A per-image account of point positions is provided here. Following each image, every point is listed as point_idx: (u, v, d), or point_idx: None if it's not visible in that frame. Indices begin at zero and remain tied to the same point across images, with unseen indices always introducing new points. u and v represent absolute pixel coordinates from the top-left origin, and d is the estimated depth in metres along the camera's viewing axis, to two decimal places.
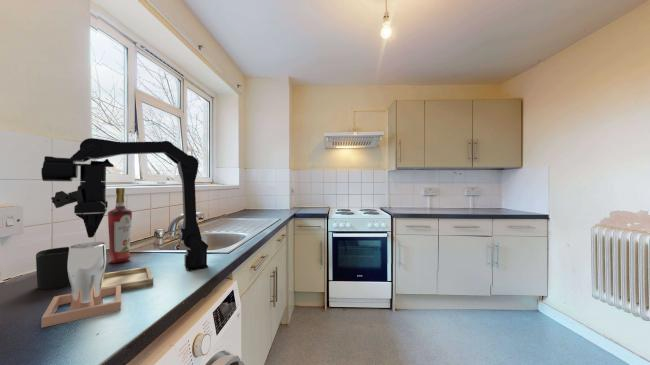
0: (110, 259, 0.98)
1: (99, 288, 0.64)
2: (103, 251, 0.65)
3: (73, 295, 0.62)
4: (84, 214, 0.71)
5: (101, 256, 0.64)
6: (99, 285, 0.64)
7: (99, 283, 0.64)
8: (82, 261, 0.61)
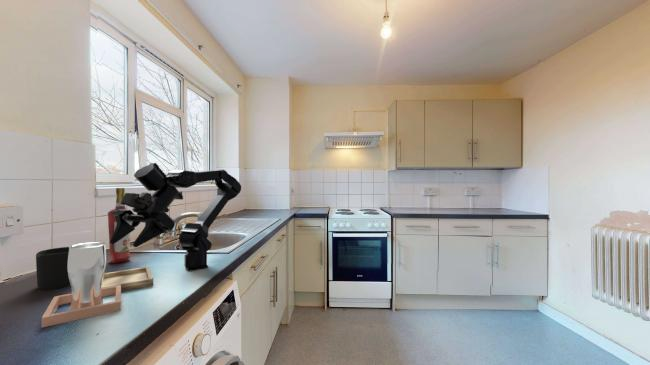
0: (110, 259, 0.98)
1: (99, 288, 0.64)
2: (103, 251, 0.65)
3: (73, 295, 0.62)
4: (157, 223, 0.73)
5: (101, 256, 0.64)
6: (99, 285, 0.64)
7: (99, 283, 0.64)
8: (82, 261, 0.61)
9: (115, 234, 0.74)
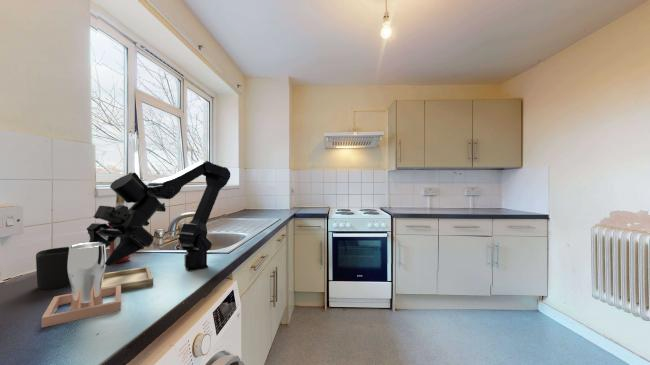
0: None
1: (99, 288, 0.64)
2: (103, 251, 0.65)
3: (73, 295, 0.62)
4: (133, 239, 0.66)
5: (101, 256, 0.64)
6: (99, 285, 0.64)
7: (99, 283, 0.64)
8: (82, 261, 0.61)
9: None
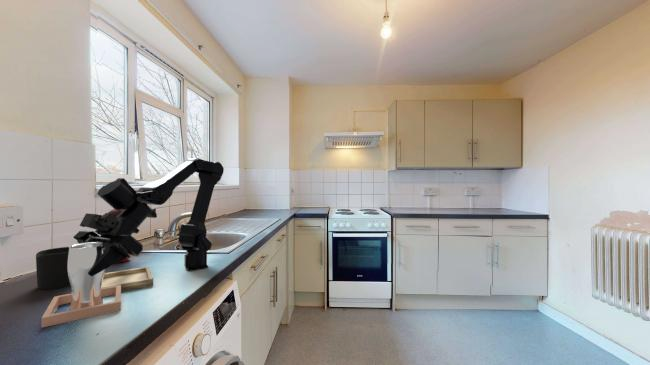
0: None
1: (99, 288, 0.64)
2: (103, 251, 0.65)
3: (73, 295, 0.62)
4: (118, 248, 0.64)
5: None
6: (99, 285, 0.64)
7: (99, 283, 0.64)
8: (82, 261, 0.61)
9: None
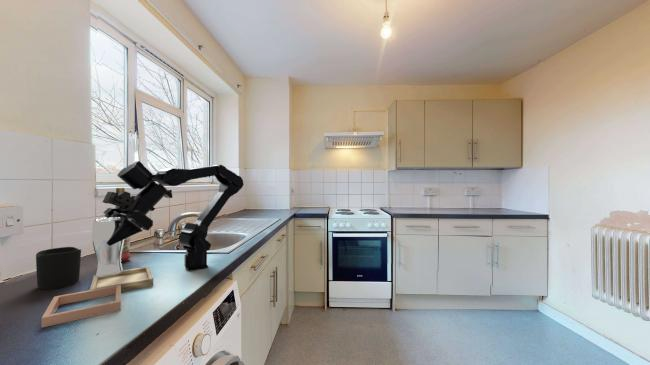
0: None
1: (118, 257, 0.73)
2: None
3: (97, 261, 0.71)
4: (130, 222, 0.72)
5: None
6: (118, 254, 0.73)
7: (117, 253, 0.73)
8: (102, 232, 0.70)
9: None
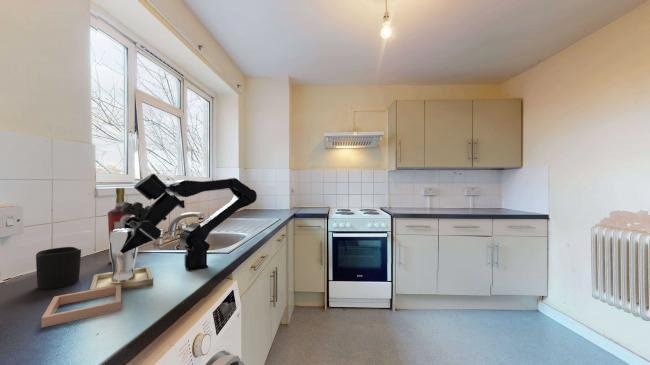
0: (110, 259, 0.98)
1: (131, 266, 0.79)
2: None
3: None
4: (141, 232, 0.76)
5: None
6: (130, 263, 0.79)
7: (130, 262, 0.79)
8: (116, 242, 0.77)
9: None
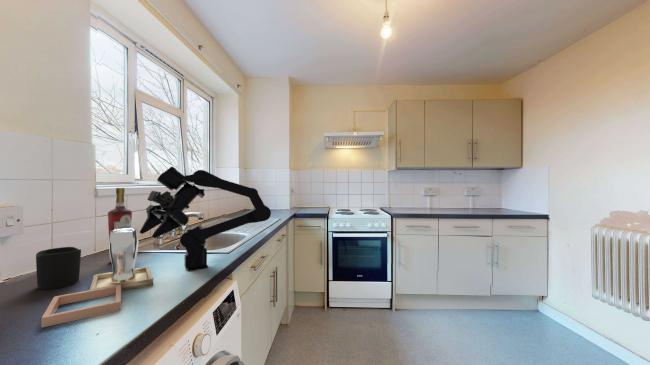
0: (110, 259, 0.98)
1: (131, 266, 0.79)
2: (133, 236, 0.79)
3: None
4: (172, 218, 0.83)
5: (131, 240, 0.78)
6: (130, 263, 0.79)
7: (130, 262, 0.79)
8: (116, 242, 0.77)
9: (144, 225, 0.88)
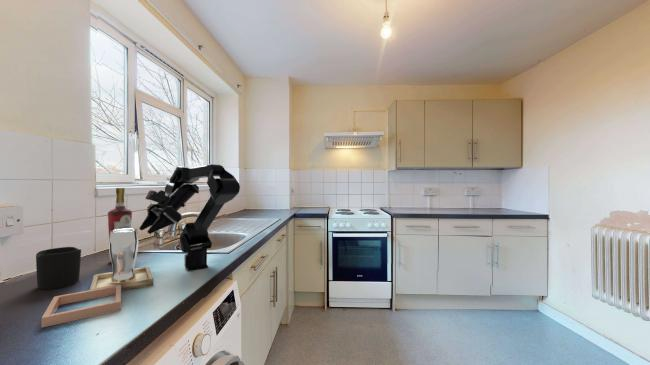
0: (110, 259, 0.98)
1: (131, 266, 0.79)
2: (133, 236, 0.79)
3: None
4: (165, 215, 0.88)
5: (131, 240, 0.78)
6: (130, 263, 0.79)
7: (130, 262, 0.79)
8: (116, 242, 0.77)
9: (144, 222, 0.94)
